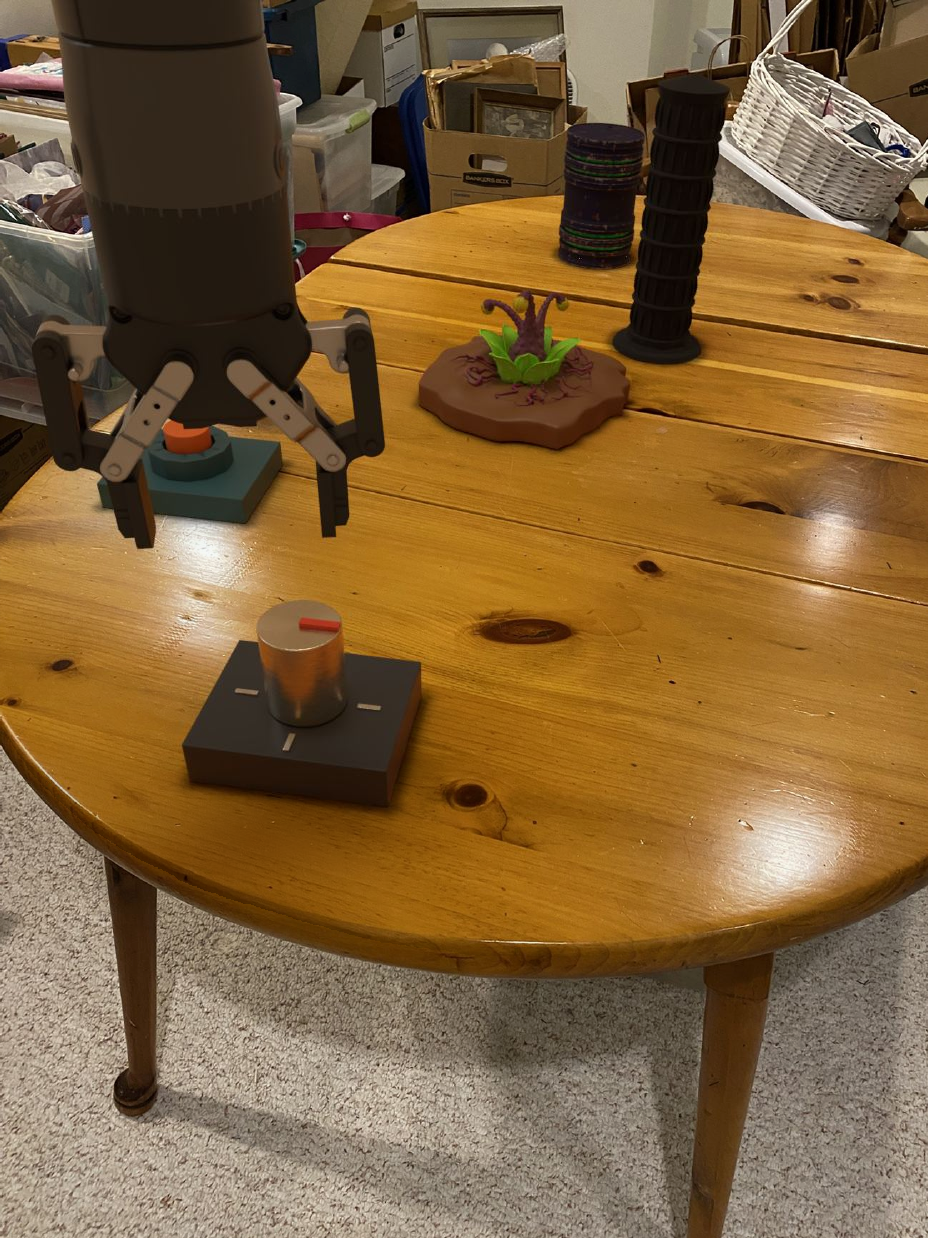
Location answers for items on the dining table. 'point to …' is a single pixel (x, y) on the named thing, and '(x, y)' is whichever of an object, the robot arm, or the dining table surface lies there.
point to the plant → (524, 381)
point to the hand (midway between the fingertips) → (238, 534)
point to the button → (186, 439)
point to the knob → (303, 662)
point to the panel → (307, 733)
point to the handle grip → (674, 220)
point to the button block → (208, 477)
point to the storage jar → (600, 194)
